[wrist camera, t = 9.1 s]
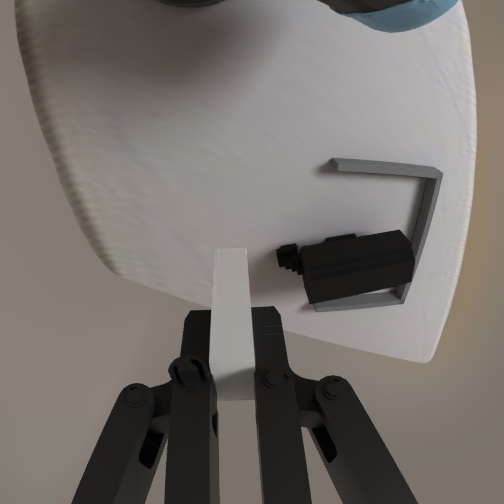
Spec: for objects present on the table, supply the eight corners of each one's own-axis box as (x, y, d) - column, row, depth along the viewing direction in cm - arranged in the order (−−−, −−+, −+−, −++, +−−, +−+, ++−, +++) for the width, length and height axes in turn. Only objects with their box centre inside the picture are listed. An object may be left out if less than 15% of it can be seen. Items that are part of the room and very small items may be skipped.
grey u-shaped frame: (332, 158, 39) (338, 163, 37) (434, 167, 40) (443, 172, 38) (312, 302, 53) (315, 312, 50) (398, 295, 54) (403, 303, 52)
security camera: (273, 233, 45) (284, 275, 36) (390, 214, 44) (421, 249, 36) (279, 271, 48) (289, 316, 40) (387, 251, 48) (414, 289, 40)
